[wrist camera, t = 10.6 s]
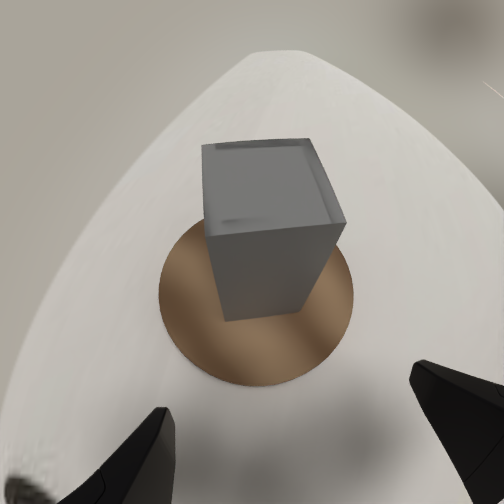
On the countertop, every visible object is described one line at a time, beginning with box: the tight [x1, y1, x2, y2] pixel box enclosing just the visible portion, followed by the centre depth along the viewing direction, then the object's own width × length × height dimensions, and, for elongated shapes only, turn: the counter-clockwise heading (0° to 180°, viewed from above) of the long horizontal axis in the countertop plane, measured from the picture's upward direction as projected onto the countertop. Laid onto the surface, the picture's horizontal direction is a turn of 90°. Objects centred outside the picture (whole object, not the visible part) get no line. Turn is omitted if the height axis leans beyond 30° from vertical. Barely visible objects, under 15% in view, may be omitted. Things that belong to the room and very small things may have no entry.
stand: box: [159, 219, 353, 386], centre depth 18 cm, size 14×14×5 cm
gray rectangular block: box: [202, 138, 347, 322], centre depth 15 cm, size 5×5×10 cm
